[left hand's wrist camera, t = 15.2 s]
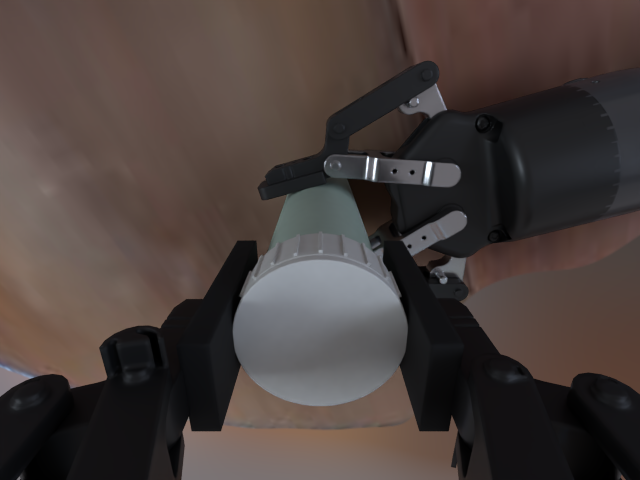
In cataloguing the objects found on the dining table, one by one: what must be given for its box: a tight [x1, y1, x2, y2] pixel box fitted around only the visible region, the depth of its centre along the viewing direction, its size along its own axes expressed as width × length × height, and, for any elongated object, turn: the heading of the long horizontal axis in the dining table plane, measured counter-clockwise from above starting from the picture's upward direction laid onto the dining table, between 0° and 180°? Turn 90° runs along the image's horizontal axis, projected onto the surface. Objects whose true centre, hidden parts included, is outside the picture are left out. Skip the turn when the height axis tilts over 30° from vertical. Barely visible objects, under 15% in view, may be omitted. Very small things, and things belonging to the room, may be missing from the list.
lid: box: [232, 231, 408, 406], centre depth 11 cm, size 5×5×2 cm
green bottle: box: [267, 177, 373, 252], centre depth 19 cm, size 5×5×17 cm
